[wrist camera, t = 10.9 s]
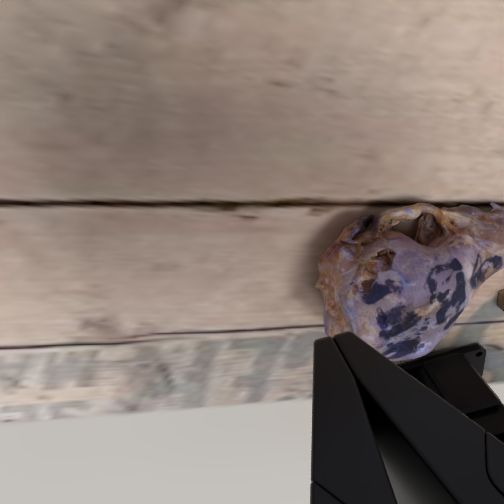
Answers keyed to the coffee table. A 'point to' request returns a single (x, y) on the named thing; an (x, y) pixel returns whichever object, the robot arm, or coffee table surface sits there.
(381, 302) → the skull
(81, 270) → the coffee table surface
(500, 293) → the rail notch
